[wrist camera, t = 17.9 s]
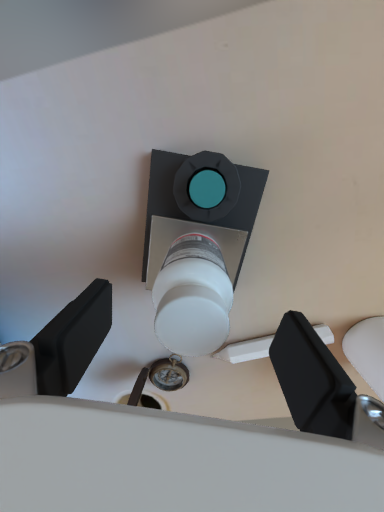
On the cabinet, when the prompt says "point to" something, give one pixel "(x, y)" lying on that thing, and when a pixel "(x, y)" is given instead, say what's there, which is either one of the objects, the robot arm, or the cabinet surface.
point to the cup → (367, 351)
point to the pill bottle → (192, 297)
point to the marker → (263, 346)
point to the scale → (182, 206)
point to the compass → (161, 377)
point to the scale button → (207, 189)
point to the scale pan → (172, 228)
